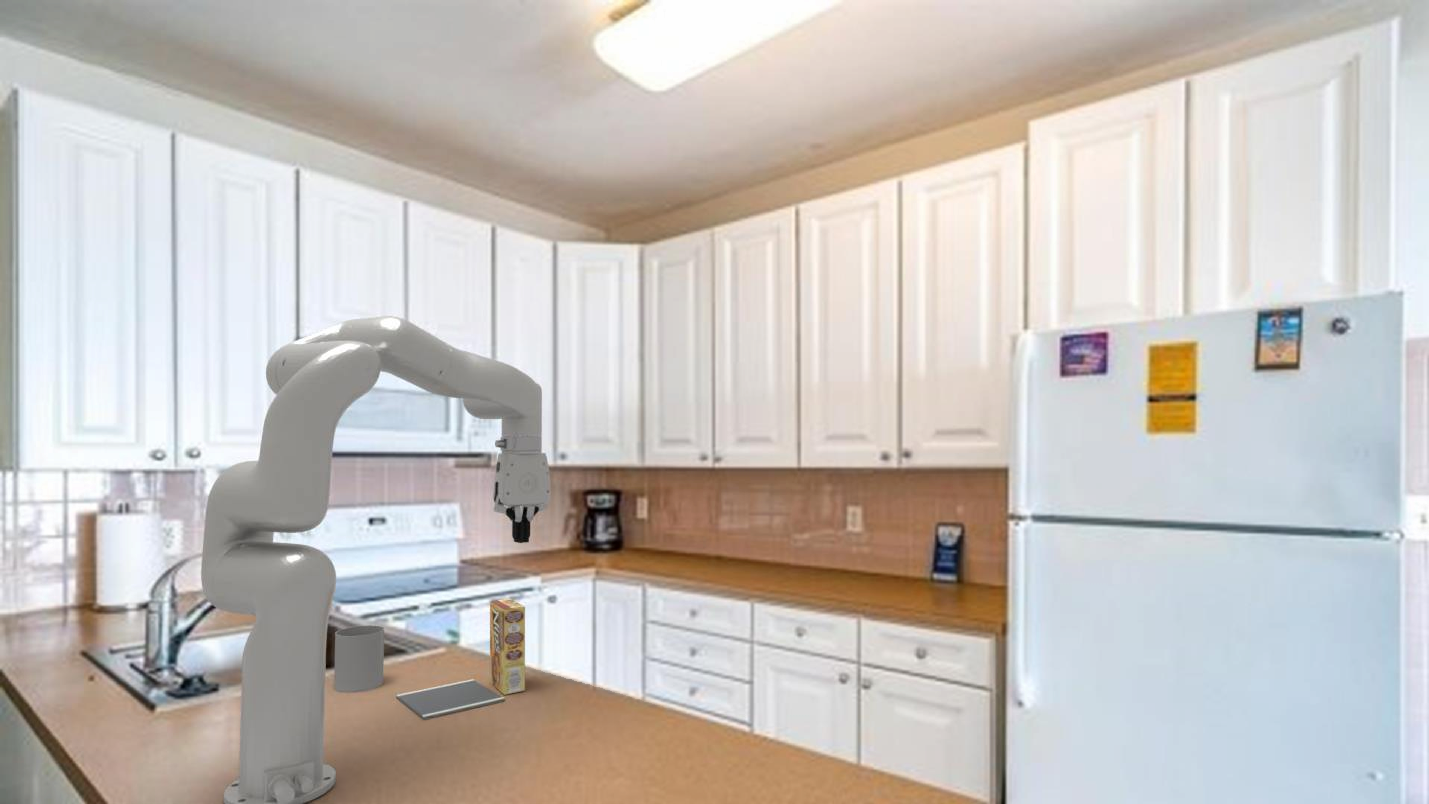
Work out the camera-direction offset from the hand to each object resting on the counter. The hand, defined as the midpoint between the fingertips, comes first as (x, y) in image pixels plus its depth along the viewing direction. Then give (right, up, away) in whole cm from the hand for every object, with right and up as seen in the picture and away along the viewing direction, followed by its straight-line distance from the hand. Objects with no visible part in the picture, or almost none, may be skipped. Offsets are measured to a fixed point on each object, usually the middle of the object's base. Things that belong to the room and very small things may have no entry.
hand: (521, 541), depth 146 cm
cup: (-29, -26, -4) cm, 39 cm away
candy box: (-1, -26, -5) cm, 27 cm away
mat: (-9, -25, -12) cm, 30 cm away
